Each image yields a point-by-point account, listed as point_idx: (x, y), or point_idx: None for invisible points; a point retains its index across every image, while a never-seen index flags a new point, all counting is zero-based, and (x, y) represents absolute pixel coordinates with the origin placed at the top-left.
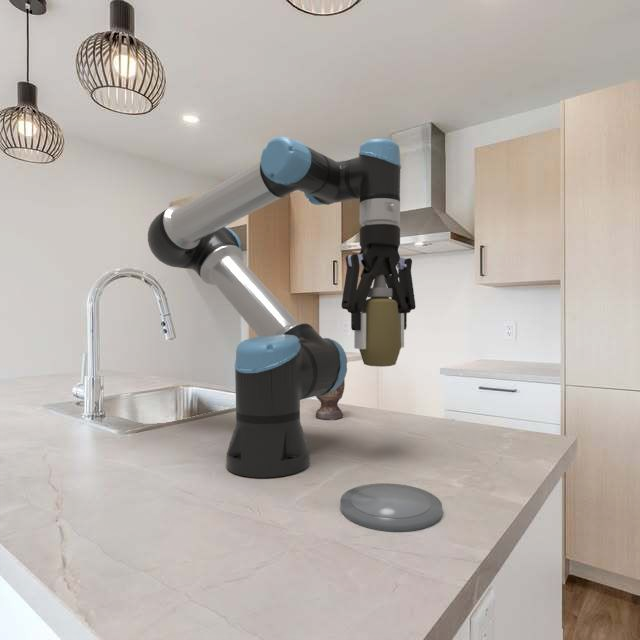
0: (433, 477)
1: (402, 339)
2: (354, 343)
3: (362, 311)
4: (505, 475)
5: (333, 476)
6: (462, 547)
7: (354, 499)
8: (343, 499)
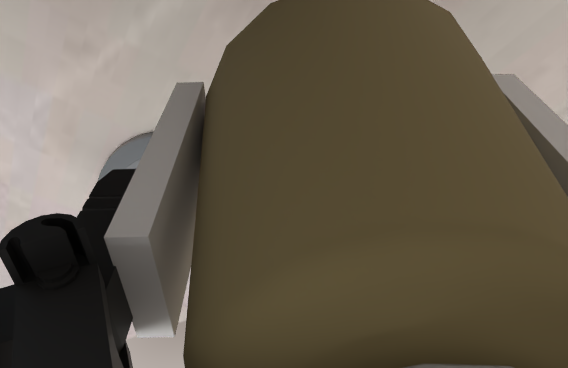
0: None
1: None
2: (170, 97)
3: (191, 268)
4: None
5: (143, 27)
6: None
7: None
8: (107, 171)
